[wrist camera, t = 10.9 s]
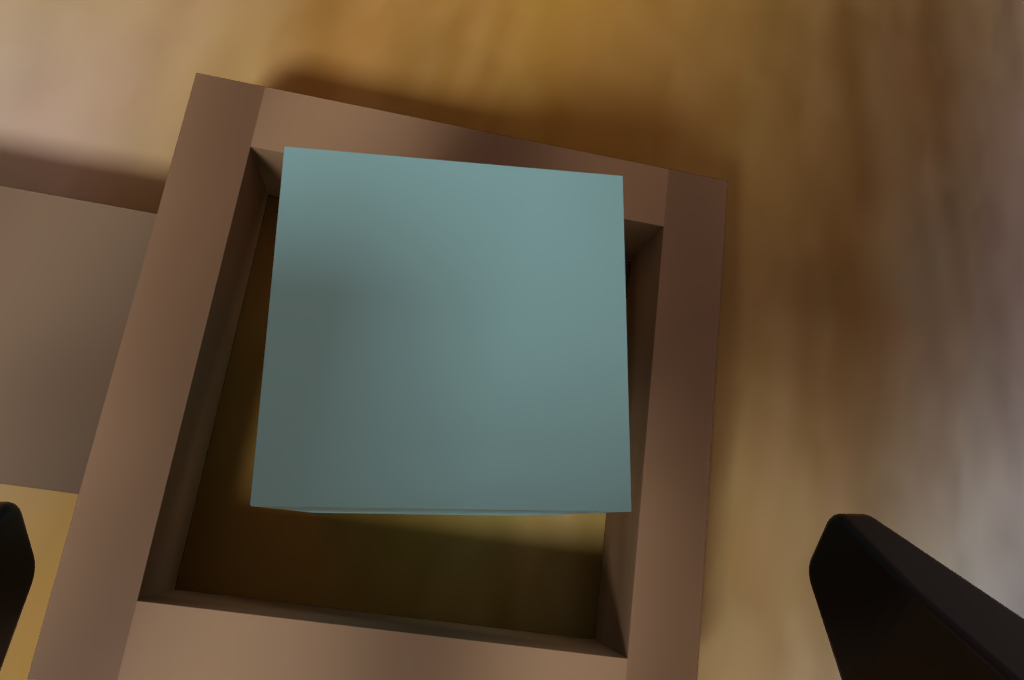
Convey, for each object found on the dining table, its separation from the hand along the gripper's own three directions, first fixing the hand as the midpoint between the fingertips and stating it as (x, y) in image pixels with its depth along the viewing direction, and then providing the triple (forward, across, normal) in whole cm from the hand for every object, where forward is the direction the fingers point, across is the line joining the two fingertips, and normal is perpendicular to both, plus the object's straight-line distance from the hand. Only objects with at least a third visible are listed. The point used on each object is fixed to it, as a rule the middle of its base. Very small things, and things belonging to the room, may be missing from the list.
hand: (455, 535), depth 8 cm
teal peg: (+9, 0, +4) cm, 10 cm away
